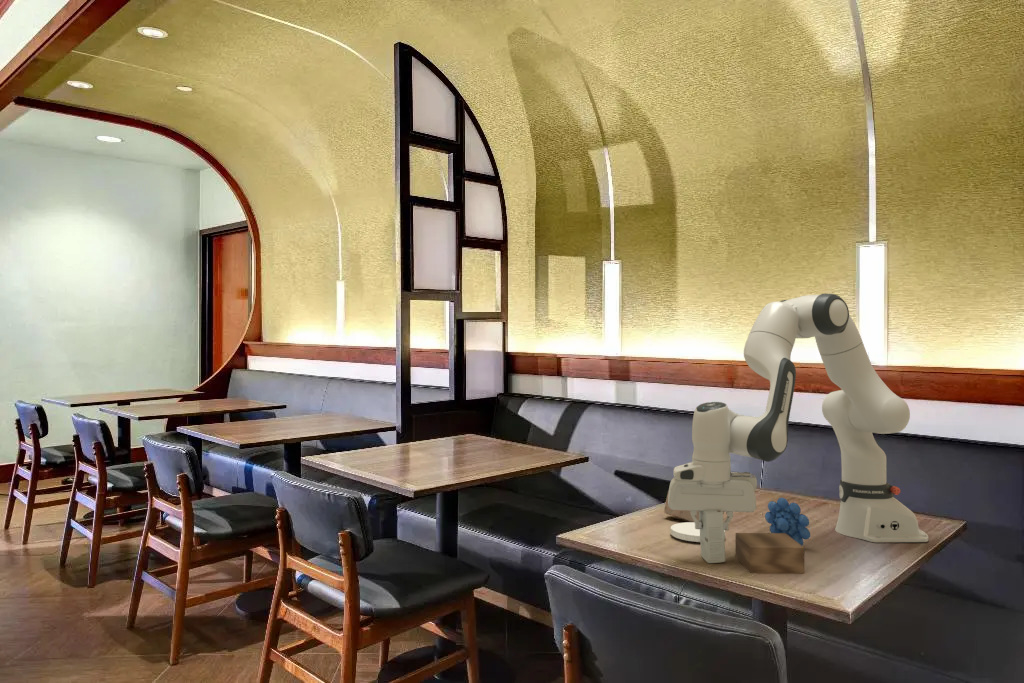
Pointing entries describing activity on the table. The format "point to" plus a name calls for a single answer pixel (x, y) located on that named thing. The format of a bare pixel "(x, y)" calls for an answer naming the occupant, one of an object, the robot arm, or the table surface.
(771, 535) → the walnut block
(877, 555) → the table surface
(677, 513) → the brick
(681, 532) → the plastic lid
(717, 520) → the skincare box
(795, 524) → the grapes
